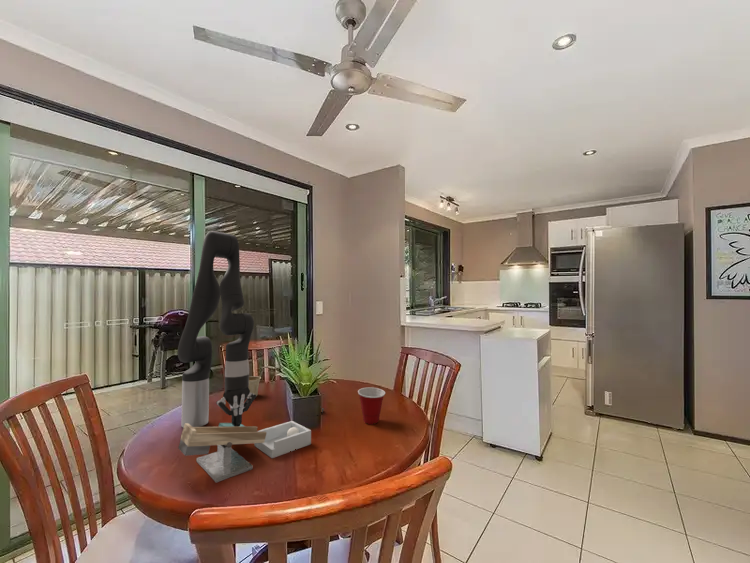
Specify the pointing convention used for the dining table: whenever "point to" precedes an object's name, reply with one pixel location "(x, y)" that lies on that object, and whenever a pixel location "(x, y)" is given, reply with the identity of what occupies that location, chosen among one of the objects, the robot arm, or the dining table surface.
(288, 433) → the ball
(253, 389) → the flower pot
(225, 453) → the lever stand
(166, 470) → the dining table surface
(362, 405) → the plastic cup
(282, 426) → the tray
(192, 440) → the lever
